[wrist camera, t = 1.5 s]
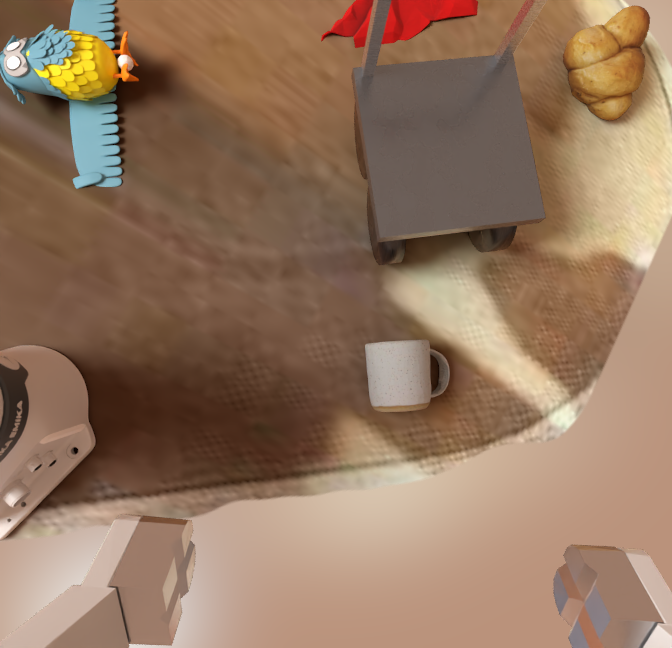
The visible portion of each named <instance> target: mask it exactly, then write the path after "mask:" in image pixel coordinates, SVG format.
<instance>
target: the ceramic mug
mask: <svg viewBox="0 0 672 648" xmlns="http://www.w3.org/2000/svg"><path fill="white" fill-rule="evenodd" d="M365 352H366V362H367V374H368V386H369V397H370V401H371V405H372V407H373V408H374V409H375V410H377V411H382V412H401V411H414V410H421V409H425V408H427V407H428V405H429V404H430V399H431V398H432V397H436V396H439V395H440V394H442V393H443V392H444V391H445V389H446V388H447V386H448V383H449V378H450V370H449V365H448V362H447V360H446V358H445V357H444V356H443V355H442V354H440V353H439V352H437V351H435V350H433V349H430V343H429V341H428V340H408V341H391V342H379V343H370V344H366V345H365ZM430 354H431V355H433V356H434V357H435V358H436V359H437V361H438V364H439V380H438V383H439V385H438V386H437V388H436V389H435V390H434V391H433V392H431V379H430Z"/></svg>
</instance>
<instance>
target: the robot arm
mask: <svg viewBox="0 0 672 648" xmlns="http://www.w3.org/2000/svg"><path fill="white" fill-rule="evenodd" d="M95 442H96V441H95V436H94V433H93V430H92V428H91V425H90V423H89V419H88V393H87V388H86V385H85V382H84V379H83V377H82V375H81V374H80V372H79V370H78V369H77V368H76V366H75V365H74V364H73V363H72V362H71V361H70V360H69V359H68V358H66V357H65V356H64V355H62V354H60V353H59V352H57V351H55V350H52V349H49V348H46V347H42V346H35V345H24V346H17V347H12V348H9V349H6V350H2V351H0V540H2V539H4V538H5V537H6V536H8V535H9V534H10V533H11V532H12V531H13V530H14V529H15V528H16V527H17V526H18V525H19V524H20V523H21V522H22V521H23V520H24V519H25V518H26V517H27V516H28V515H29V514H30V513H31V512H32V511H33V510H34V509H35V508H36V507H37V506H38V505H39V503H40V502H41V501H42V500H43V499H44V498H45V497H46V496H47V495H48V494H49V493H50V492H51V491H52V490H53V489H54V488H55V487H56V486H57V485H58V484H59V483H60V482H61V481H62V480H63V479H64V478H65V477H66V476H67V475H68V474H69V473H70V472H71V471H72V470H73V469H74V468H75V467H76V466H77V465H78V464H79V463H80V462H81V461H82V460H83V459H84V458H85V457H86V456H87V455H88V454H89V453H90V452H91V451H92V450H93V448H94V447H95ZM75 447H76V448H78V453H77V454H75V453H74V451H73V450H74V448H75ZM25 503H26V504H25ZM192 533H193V526H192V520H183V519H172V518H162V517H151V516H140V515H127V514H120V515H119V516H118V517H117V518H116V519H115V520H114V521H113V523H112V525H111V527H110V530H109V531H108V533H107V535H106V537H105V539H104V541H103V543H102V545H101V547H100V549H99V550H98V552H97V554H96V556H95V558H94V560H93V562H92V564H91V566H90V568H89V570H88V572H87V574H86V576H85V577H84V580H83V581H82V583H81V585H73V586H71V587H70V588H69V589H67V590H66V591H65V592H64V593H62V594H61V595H60V596H58V597H57V598H56V599H55V600H53V601H52V602H51V603H49V604H48V605H47V606H45V607H44V608H43V609H42V610H40V611H39V612H38V613H36V614H35V615H34V616H33V617H31V618H30V619H29V620H27V621H26V622H25V623H24V624H23V625H21V626H20V627H18V628H17V629H16V630H15V631H13V632H12V633H11V634H10V635H8V636H7V637H6V638H4V639H3V640H2V641H0V648H129V644H147V645H172V643H173V640H174V636H175V633H176V630H177V627H178V623H179V621H180V617H181V614H182V608H181V600H180V599H181V598H182V597H183V596H184V595H185V594H186V593H187V592H188V591H189V588H190V584H191V581H192V577H193V571H194V565H195V545H194V544H193V543H192V542H191V541H190V539H191V536H192ZM563 556H564V558H565V561H566V564H565V565H563V566H561V567H560V568H559V569H557V572H556V575H555V577H554V597H555V601H556V605H557V608H558V611H559V614H560V616H561V617H562V618H563V619H564V620H565V621H566V622H567V623H568V624H569V625H570V626H571V627H572V628H571V631H570V635H569V641H570V643H571V645H572V648H672V592H671V590H670V589H669V587H668V585H667V584H666V582H665V580H664V579H663V577H662V575H661V574H660V572H659V571H658V569H657V567H656V566H655V564H654V562H653V561H652V559H651V557H650V556H649V554H648V553H646V552H645V551H644V550H643V549H631V548H616V547H607V546H588V545H571V546H569V547H567V549H566V551H565V553H564V555H563Z"/></svg>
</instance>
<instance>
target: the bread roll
mask: <svg viewBox="0 0 672 648" xmlns="http://www.w3.org/2000/svg"><path fill="white" fill-rule="evenodd" d="M649 24H650V17H649V14H648V12H647V11H646V10H645V9H644V8H642V7H640V6H630V7H627V8H624V9H622V10H621V11H620V12H618V13H617V14H616V15H615V16H614V17H613V18H611V19H610V20H609V21H608V22H607V23H606V24H605V25H596V26H594V27H590V28H587V29H584V30H581V31H579V32H578V33H577V34H576V35H575V36H574V37H573V38H572V39H571V40H570V41H568V43H567V46H566V48H565V52H564V54H563V62H564V65H565V67H566V69H567V70H568V71H569V72H568V81H569V85H570V87H571V92H572V95H573V96H575V97H576V98H577V99H578V100H580V101H581V102H583V103H586V105H587V107H588V108H589V110H590V111H591V112H592V113H594V114H595V115H596V116H598V117H600V118H602V119H605V120H615V119H617V118H619V117H621V116H622V115H623V114H624V113H625V112H626V110H627V109H628V108H629V107H630V106H631V103H632V92H634V91H636V90H637V89H638V88H639V85H640V83H641V81H642V79H643V73H644V67H645V57H644V55H643V53H642V49H641V48H640V46H641V45H642V44H643V42H644V40H645V38H646V36H647V32H648V30H649Z"/></svg>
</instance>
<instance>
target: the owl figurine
mask: <svg viewBox="0 0 672 648" xmlns="http://www.w3.org/2000/svg"><path fill="white" fill-rule="evenodd" d="M114 2H115V0H75V1H74V4H73V7H72V11H71V18H70V29H69V31H68V30H67V31H64V30H58V31H57V29H55V30H54V29H53V30H51V29H52V28H53V25H50V26H49V27H48V28H47V29H46V30H45V32H44V31H42V32H40V33H39V34H38V35H37V36H36V37H34V38H30V39H28V38H24V39H21V40H20V39H17V40H16V36H12V38H11V40H10V41H9V42H8V44H7V45H6V47H5V48H4V50H3V51H2V52H0V73H1V76H2V78H3V80H4V82H5V83H6V84H7V86H8V87H9V88H10V89H11V90H12V91H13V93H14V95H17V98H18V100H19V101H20V102H21V101H22V103H23V104H25V103H26V99H25V97H24V96H23V95H22V94H21V93H20V92H18V90H22V91H27V92H32V93H38V94H44V95H50V96H57V97H60V98H62V99H65V100H68V99H69V100H68V101H69V106H70V124H71V133H72V142H73V150H74V155H75V160H76V165H77V168H78V171H79V174H80V176H78V177H76V178H74V179H73V182H74V185H75V187H76V188H77V189H78V188H82V187H85V186H88V185H92V184H93V185H96V186H103V187H117V186H120V185H121V184H122V180H121V179H120V178H107V177H114V176H119V175H121V174H122V169H121V168H120V167H109V166H115V165H119V164H120V163H121V158H120V157H118V156H109V155H115V154H118V153H119V152H120V147H119V146H116V145H110V144H115V143H118V142H119V137H118V136H117V135H107V134H113V133H116V132H118V130H119V127H118V126H117V125H114V124H110V125H103V124H109V123H114V122H116V121H117V120H118V116H117V115H116V114H108V113H113V112H115V111H117V105H116V104H104V103H109V102H114V101H115V100H116V99H117V96H116V95H115V94H114V93H110V92H113V91H115V90H116V84H117V82H118V78H122V80H123V81H125V82H126V81H139V79H138V78H136V77H135V76H133V75H131V74H130V73H129V72H128V71H130V70H132V68H133V66H134V65H135V66H138V64H137V63H136V62H135V60H134V59H133V58H132V57H131V54H130V52H129V51H128V44H127V36H128V31H127V32H125V33H124V35H123V38H122V41H121V47H120V50H111V49H113V48H114V47H115V43H114V42H112V41H107V40H111V39H113V38H114V37H115V34H114V33H113V32H105V31H110V30H113V29H114V28H115V25H114V23H112V22H108V21H112V20H114V18H115V15H114V14H112V13H108V12H112V11H114V9H115V6H113V5H108V4H112V3H114ZM103 13H106V14H103ZM103 22H106V23H103ZM50 30H51V31H50ZM43 32H44V33H43ZM42 33H43V34H42ZM41 34H42V35H41ZM40 35H41V36H40ZM39 36H40V37H39ZM104 41H106V42H104ZM115 54H121V56H119V58H118V63H117V60H116V57H115ZM118 65H119V67H120V68H121V74H119V70H118ZM17 89H18V90H17ZM105 145H110V146H105Z"/></svg>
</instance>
